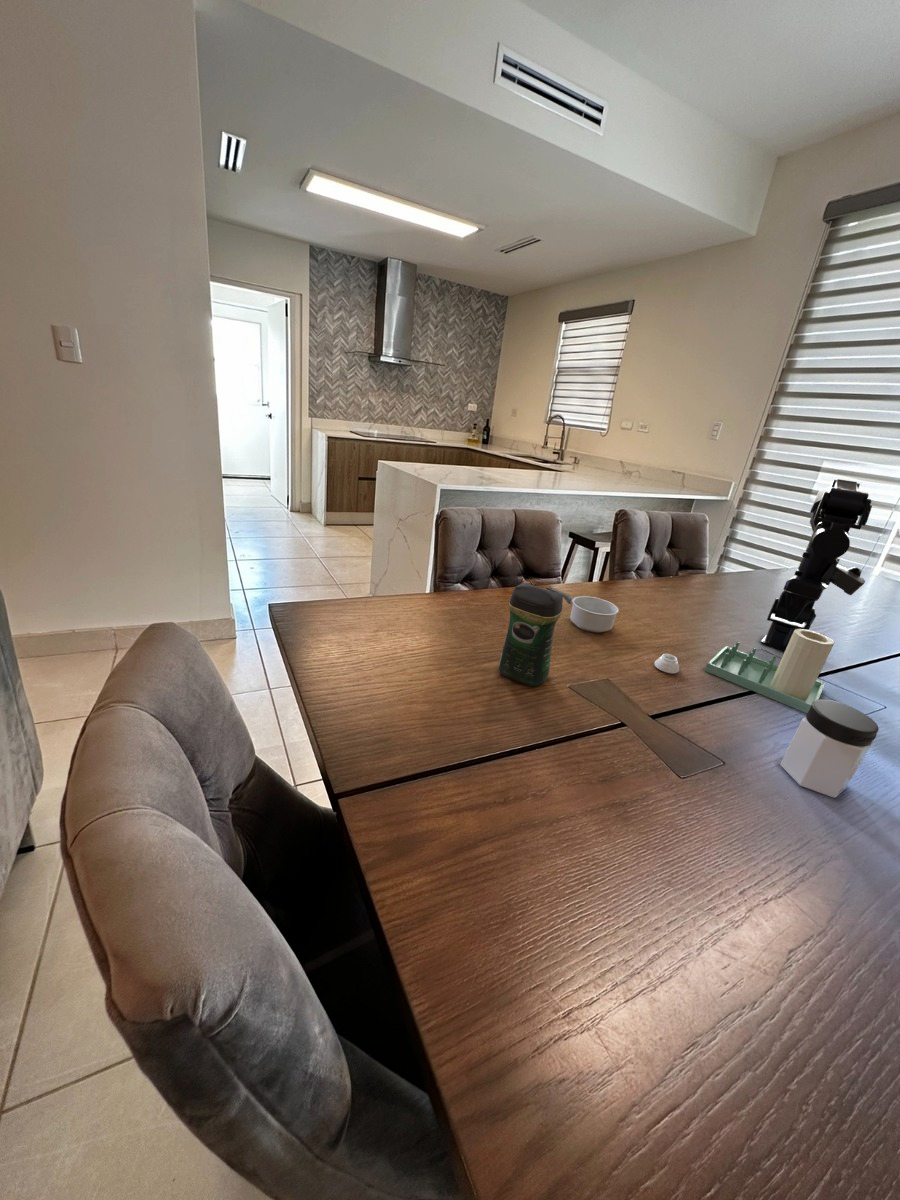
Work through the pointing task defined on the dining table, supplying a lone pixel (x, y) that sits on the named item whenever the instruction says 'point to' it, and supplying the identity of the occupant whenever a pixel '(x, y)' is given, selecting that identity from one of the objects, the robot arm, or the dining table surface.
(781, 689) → the beige cylindrical vase
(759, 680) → the dish rack
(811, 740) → the jar
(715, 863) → the dining table surface
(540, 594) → the coffee jar
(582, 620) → the saucepan
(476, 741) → the dining table surface
